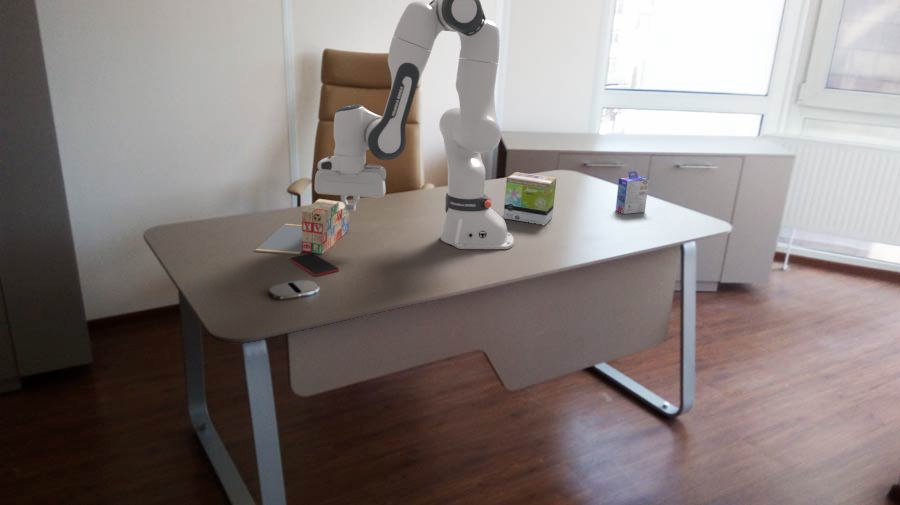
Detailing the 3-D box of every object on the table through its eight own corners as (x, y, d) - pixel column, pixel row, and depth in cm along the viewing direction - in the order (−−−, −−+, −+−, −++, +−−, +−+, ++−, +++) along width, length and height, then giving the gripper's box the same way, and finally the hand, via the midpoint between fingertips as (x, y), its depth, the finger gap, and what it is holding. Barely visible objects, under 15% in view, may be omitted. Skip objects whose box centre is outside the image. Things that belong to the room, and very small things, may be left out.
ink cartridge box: (635, 208, 240) (641, 169, 235) (645, 212, 235) (651, 173, 230) (614, 210, 236) (619, 171, 231) (623, 214, 232) (629, 174, 226)
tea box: (502, 219, 220) (505, 177, 215) (511, 212, 229) (514, 171, 224) (545, 226, 215) (550, 182, 210) (553, 218, 224) (557, 176, 219)
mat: (325, 227, 205) (325, 226, 204) (299, 255, 181) (299, 253, 181) (285, 224, 206) (284, 223, 206) (254, 251, 182) (254, 250, 182)
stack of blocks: (329, 228, 203) (330, 190, 199) (348, 231, 202) (350, 193, 198) (301, 251, 183) (301, 209, 179) (322, 254, 182) (323, 212, 178)
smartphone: (312, 252, 182) (340, 269, 171) (312, 255, 182) (340, 272, 172) (288, 257, 178) (315, 274, 167) (288, 261, 178) (315, 278, 167)
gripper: (388, 163, 186) (387, 209, 190) (318, 158, 187) (319, 204, 192) (383, 168, 180) (383, 215, 185) (311, 163, 181) (313, 210, 186)
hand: (350, 210), depth 188 cm, fingers closed
